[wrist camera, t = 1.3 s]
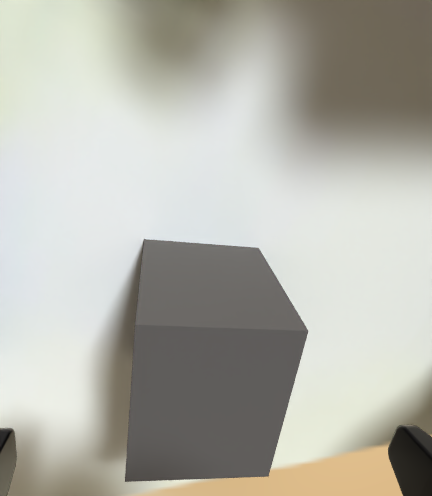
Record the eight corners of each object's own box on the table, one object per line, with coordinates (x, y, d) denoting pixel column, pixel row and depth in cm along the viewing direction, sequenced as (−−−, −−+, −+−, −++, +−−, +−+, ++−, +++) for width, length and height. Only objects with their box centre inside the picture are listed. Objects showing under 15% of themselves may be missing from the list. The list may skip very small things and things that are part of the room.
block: (262, 247, 13) (314, 330, 9) (239, 359, 15) (273, 476, 11) (144, 238, 13) (135, 324, 8) (136, 357, 15) (124, 482, 10)
